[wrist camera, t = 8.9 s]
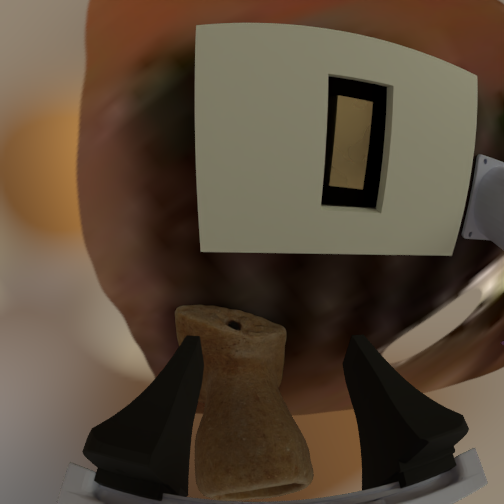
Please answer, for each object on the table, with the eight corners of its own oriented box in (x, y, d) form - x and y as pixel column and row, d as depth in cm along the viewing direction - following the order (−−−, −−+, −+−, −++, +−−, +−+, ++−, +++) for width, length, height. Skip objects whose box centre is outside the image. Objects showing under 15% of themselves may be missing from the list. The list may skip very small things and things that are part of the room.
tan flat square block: (345, 104, 17) (372, 102, 12) (338, 172, 19) (362, 189, 15) (317, 100, 17) (338, 95, 12) (311, 169, 19) (329, 185, 15)
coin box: (428, 79, 15) (477, 75, 10) (412, 221, 21) (451, 255, 15) (213, 50, 15) (196, 25, 10) (214, 214, 21) (200, 252, 15)
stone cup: (289, 397, 31) (298, 510, 18) (191, 392, 31) (173, 504, 17) (314, 300, 24) (354, 463, 11) (178, 292, 24) (125, 453, 11)
